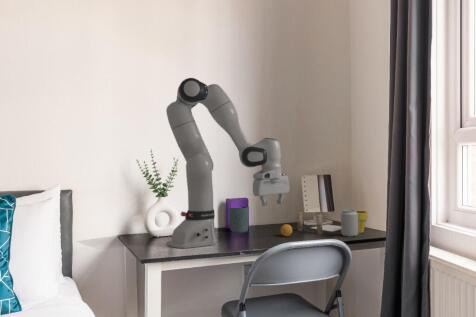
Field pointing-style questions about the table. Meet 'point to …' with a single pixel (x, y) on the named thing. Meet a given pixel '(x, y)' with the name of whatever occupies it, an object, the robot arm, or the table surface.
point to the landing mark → (329, 228)
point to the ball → (286, 230)
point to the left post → (299, 221)
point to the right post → (319, 223)
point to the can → (349, 223)
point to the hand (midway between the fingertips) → (272, 204)
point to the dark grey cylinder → (239, 219)
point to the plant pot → (361, 220)
